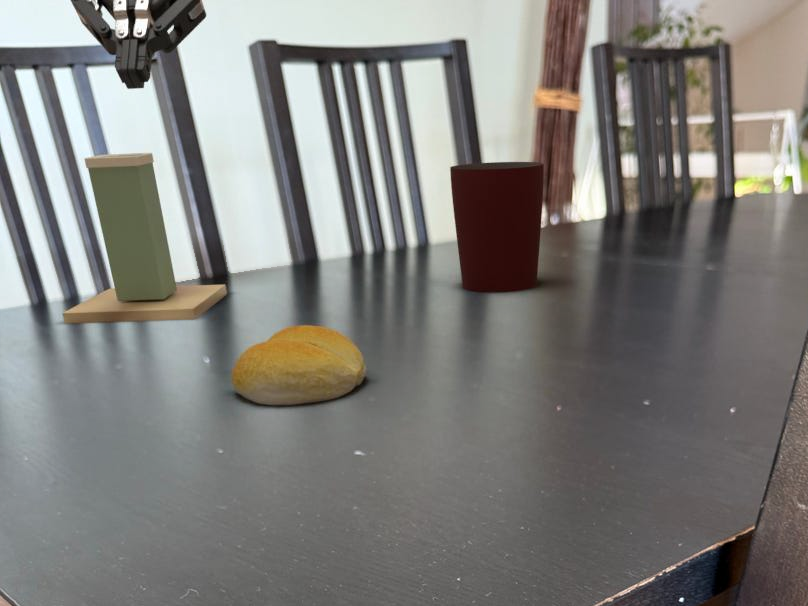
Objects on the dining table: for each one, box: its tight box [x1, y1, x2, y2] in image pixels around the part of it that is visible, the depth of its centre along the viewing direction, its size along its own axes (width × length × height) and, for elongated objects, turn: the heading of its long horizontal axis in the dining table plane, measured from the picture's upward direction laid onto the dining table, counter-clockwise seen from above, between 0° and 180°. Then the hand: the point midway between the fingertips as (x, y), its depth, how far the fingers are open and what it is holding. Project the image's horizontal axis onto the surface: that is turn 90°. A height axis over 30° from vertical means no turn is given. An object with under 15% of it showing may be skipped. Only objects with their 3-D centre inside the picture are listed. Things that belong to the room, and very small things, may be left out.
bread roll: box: [231, 324, 367, 406], centre depth 63 cm, size 8×9×4 cm
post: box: [84, 152, 177, 301], centre depth 87 cm, size 5×5×12 cm
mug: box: [449, 161, 545, 294], centre depth 93 cm, size 12×9×11 cm
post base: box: [62, 284, 228, 325], centre depth 90 cm, size 12×12×1 cm
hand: (131, 81), depth 88 cm, fingers closed
